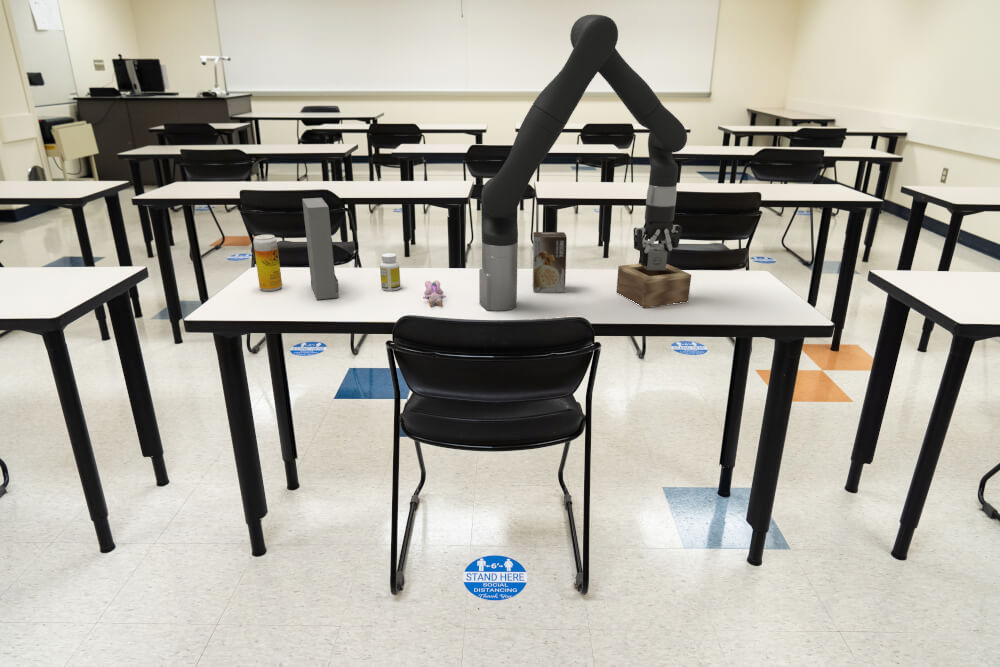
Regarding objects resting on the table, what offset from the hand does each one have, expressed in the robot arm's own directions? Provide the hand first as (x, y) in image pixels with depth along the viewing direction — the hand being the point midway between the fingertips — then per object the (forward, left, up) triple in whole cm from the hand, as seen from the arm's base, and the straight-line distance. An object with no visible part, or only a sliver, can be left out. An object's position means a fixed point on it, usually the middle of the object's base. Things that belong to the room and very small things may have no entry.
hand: (654, 264), depth 175 cm
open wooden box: (0, 0, -9) cm, 9 cm away
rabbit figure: (-57, +19, -10) cm, 61 cm away
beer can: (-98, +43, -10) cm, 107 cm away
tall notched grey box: (-84, +35, -10) cm, 91 cm away
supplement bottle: (-66, +32, -10) cm, 74 cm away
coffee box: (-24, +16, -10) cm, 30 cm away
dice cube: (0, 0, -1) cm, 1 cm away
